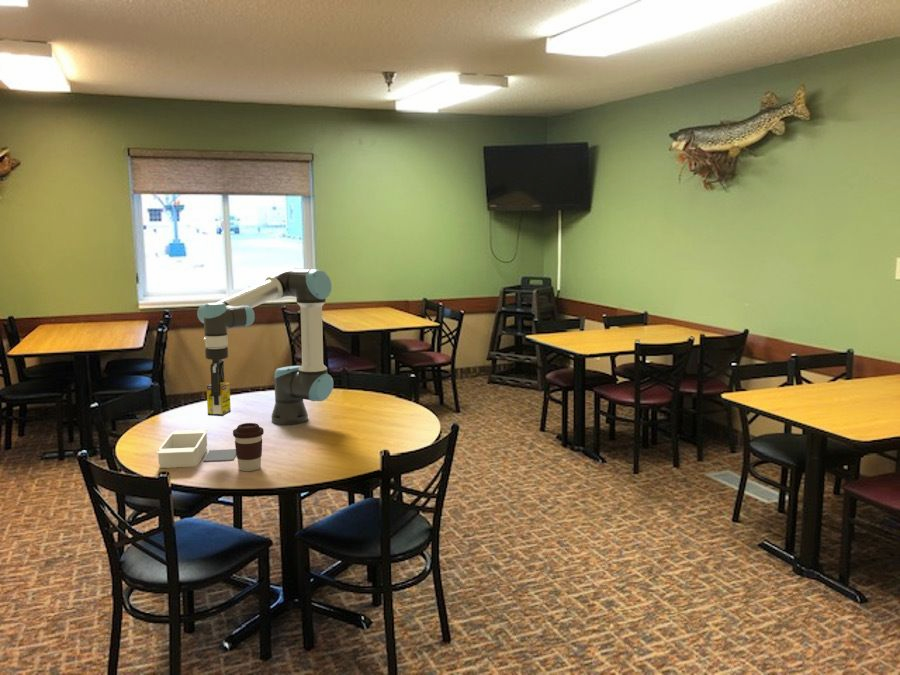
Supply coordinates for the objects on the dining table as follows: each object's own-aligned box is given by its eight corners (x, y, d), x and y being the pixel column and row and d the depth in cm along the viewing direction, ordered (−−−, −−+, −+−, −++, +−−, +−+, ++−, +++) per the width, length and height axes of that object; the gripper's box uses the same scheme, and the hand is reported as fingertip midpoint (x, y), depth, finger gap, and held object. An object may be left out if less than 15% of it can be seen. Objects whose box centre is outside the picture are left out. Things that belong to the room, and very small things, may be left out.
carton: (209, 446, 260) (208, 429, 259) (195, 470, 234) (194, 451, 233) (173, 447, 258) (172, 430, 257) (156, 471, 232) (155, 453, 231)
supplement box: (223, 416, 243) (221, 386, 241) (207, 415, 244) (205, 385, 242) (231, 412, 249) (230, 382, 247) (215, 411, 250) (214, 381, 248)
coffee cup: (237, 463, 240) (236, 421, 238) (267, 463, 241) (265, 421, 239) (231, 473, 231) (229, 429, 228) (261, 472, 232) (260, 429, 229)
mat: (237, 450, 255) (237, 448, 255) (233, 460, 244) (233, 459, 244) (209, 451, 254) (209, 450, 254) (203, 461, 242) (203, 460, 242)
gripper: (210, 342, 252) (212, 404, 255) (199, 352, 232) (203, 418, 236) (231, 342, 253) (234, 403, 257) (223, 351, 233) (225, 417, 237)
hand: (219, 410), depth 246 cm, fingers closed on supplement box, 7 cm apart
